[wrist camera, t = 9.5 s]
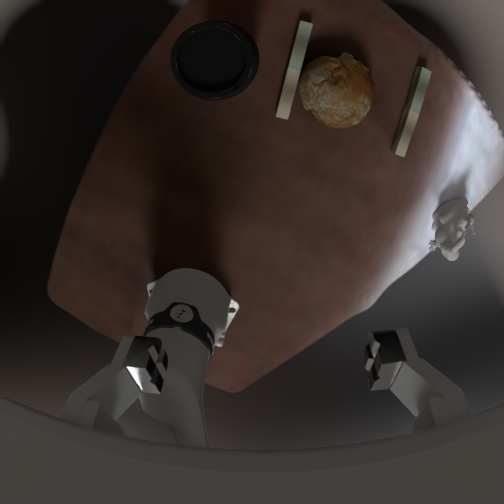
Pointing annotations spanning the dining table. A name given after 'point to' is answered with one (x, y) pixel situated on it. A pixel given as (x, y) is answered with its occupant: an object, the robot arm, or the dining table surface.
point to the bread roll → (337, 90)
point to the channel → (409, 111)
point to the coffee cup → (214, 60)
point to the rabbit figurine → (451, 226)
